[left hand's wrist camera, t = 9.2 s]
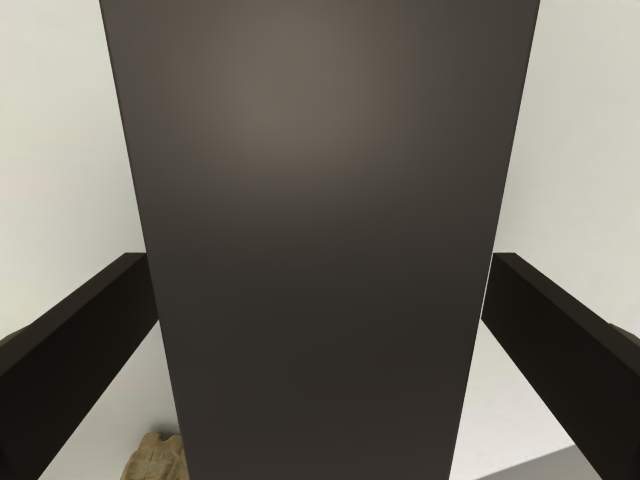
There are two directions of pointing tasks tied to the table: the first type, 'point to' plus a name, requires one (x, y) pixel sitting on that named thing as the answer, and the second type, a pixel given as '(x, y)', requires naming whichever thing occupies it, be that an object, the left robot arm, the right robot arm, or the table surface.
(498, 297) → the left robot arm
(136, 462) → the sculpture
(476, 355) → the table surface
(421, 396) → the bar
